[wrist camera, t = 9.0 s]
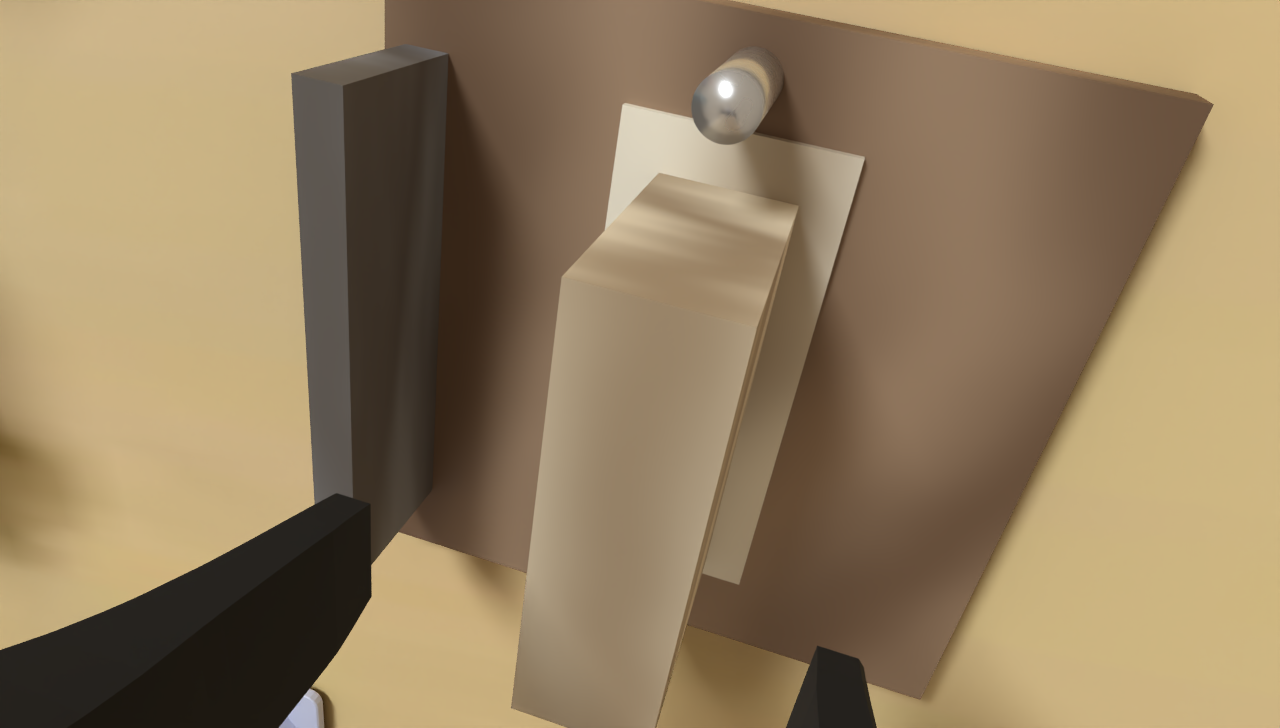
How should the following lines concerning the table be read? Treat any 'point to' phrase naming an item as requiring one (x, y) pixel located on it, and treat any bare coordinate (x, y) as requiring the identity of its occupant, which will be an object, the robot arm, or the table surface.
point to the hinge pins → (737, 95)
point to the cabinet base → (803, 305)
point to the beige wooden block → (641, 444)
